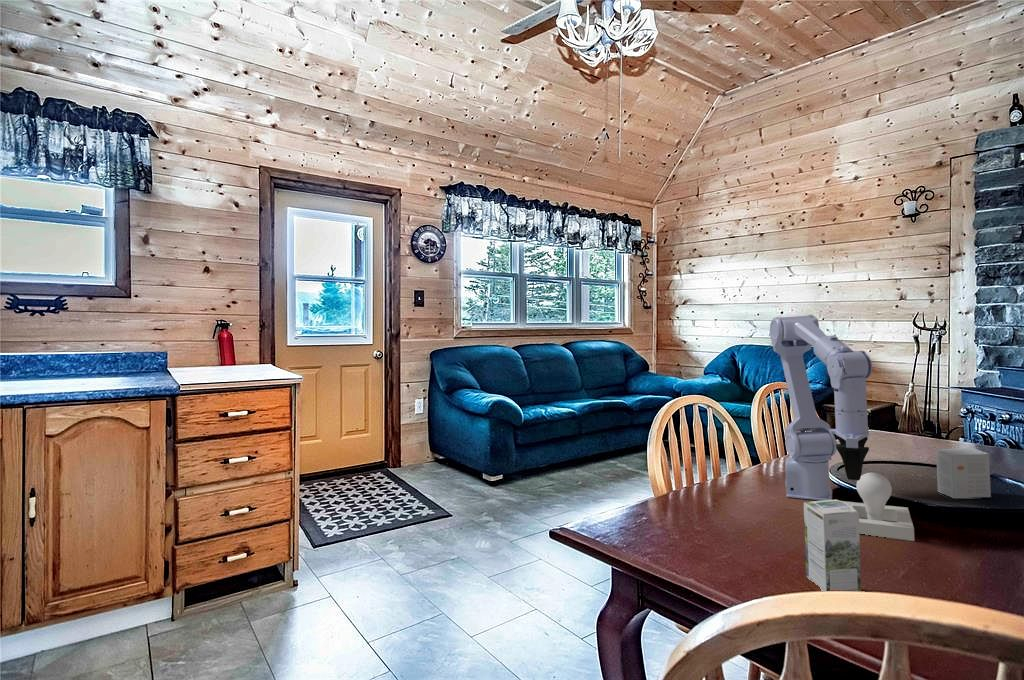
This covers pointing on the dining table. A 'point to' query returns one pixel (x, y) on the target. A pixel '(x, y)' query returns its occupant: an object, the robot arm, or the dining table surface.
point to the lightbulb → (874, 494)
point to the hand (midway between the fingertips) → (853, 474)
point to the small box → (963, 472)
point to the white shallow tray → (884, 528)
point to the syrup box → (832, 545)
